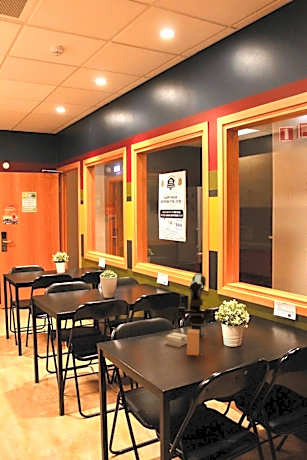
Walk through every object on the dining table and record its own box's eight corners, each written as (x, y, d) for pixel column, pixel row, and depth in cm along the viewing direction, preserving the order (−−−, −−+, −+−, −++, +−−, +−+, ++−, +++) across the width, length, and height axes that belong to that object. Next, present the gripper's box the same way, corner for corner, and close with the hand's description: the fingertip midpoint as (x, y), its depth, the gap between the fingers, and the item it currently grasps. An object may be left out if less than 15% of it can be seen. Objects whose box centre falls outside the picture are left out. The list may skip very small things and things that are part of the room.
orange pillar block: (187, 351, 226) (188, 328, 226) (198, 351, 226) (199, 329, 225) (186, 354, 220) (187, 332, 220) (198, 355, 220) (198, 332, 219)
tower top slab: (174, 336, 246) (174, 332, 246) (187, 339, 241) (187, 335, 240) (166, 340, 238) (166, 336, 238) (179, 343, 233) (179, 338, 233)
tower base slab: (174, 340, 246) (174, 336, 246) (187, 343, 241) (187, 339, 241) (165, 344, 239) (165, 340, 239) (179, 347, 233) (179, 343, 233)
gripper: (178, 292, 235) (176, 317, 224) (212, 294, 232) (211, 319, 222) (179, 303, 243) (177, 327, 233) (212, 305, 240) (211, 329, 230)
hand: (194, 325), depth 229 cm, fingers open, 9 cm apart
